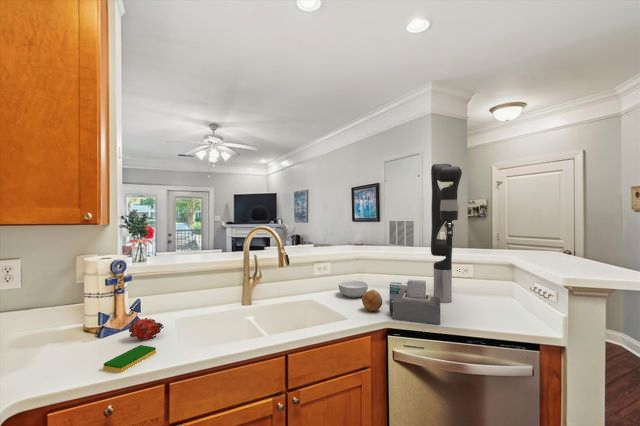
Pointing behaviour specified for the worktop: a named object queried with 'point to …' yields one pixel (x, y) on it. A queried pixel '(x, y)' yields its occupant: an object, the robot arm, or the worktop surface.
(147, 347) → the dish sponge
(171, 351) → the worktop surface
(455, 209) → the robot arm
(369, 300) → the onion
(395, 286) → the light bulb box
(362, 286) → the cereal bowl
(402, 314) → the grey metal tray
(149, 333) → the dragon fruit
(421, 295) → the medicine box
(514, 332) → the worktop surface
